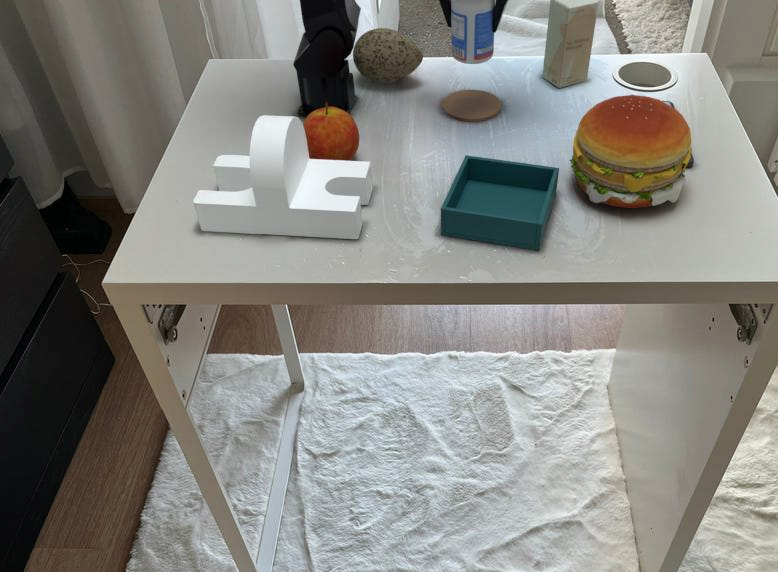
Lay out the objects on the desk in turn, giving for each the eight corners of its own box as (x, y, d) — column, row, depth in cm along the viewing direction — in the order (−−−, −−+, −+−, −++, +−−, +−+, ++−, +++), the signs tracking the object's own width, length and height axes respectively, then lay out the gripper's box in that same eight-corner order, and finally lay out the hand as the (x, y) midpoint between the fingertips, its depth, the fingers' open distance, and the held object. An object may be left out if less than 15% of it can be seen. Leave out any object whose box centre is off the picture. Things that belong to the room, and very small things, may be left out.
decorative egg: (344, 28, 104) (415, 30, 102) (361, 25, 110) (429, 27, 108) (346, 84, 107) (415, 87, 105) (363, 78, 113) (428, 81, 111)
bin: (440, 235, 85) (440, 208, 82) (465, 180, 92) (465, 154, 90) (539, 250, 83) (542, 224, 80) (556, 193, 90) (559, 167, 87)
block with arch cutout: (372, 189, 91) (365, 102, 83) (358, 239, 85) (348, 150, 77) (225, 181, 93) (204, 95, 85) (200, 230, 86) (174, 142, 78)
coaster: (435, 117, 103) (435, 114, 102) (450, 89, 108) (450, 86, 108) (493, 125, 101) (494, 122, 101) (506, 96, 106) (506, 93, 106)
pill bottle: (494, 47, 101) (497, -32, 94) (492, 66, 97) (496, -15, 90) (452, 45, 101) (453, -33, 94) (449, 64, 98) (449, -16, 90)
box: (558, 89, 107) (566, 8, 99) (541, 76, 110) (548, -4, 102) (589, 80, 109) (600, 0, 101) (571, 68, 112) (581, -11, 104)
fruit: (352, 181, 92) (345, 121, 87) (297, 175, 94) (287, 115, 88) (368, 151, 97) (363, 91, 91) (315, 145, 98) (307, 86, 92)
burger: (613, 140, 97) (626, 64, 90) (707, 184, 91) (729, 106, 83) (544, 184, 91) (552, 107, 84) (638, 235, 84) (656, 156, 77)
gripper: (373, -96, 82) (381, 48, 93) (546, -82, 78) (533, 66, 90) (404, -126, 89) (408, 11, 101) (564, -114, 86) (550, 26, 97)
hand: (472, 28), depth 97 cm, fingers closed on pill bottle, 5 cm apart
